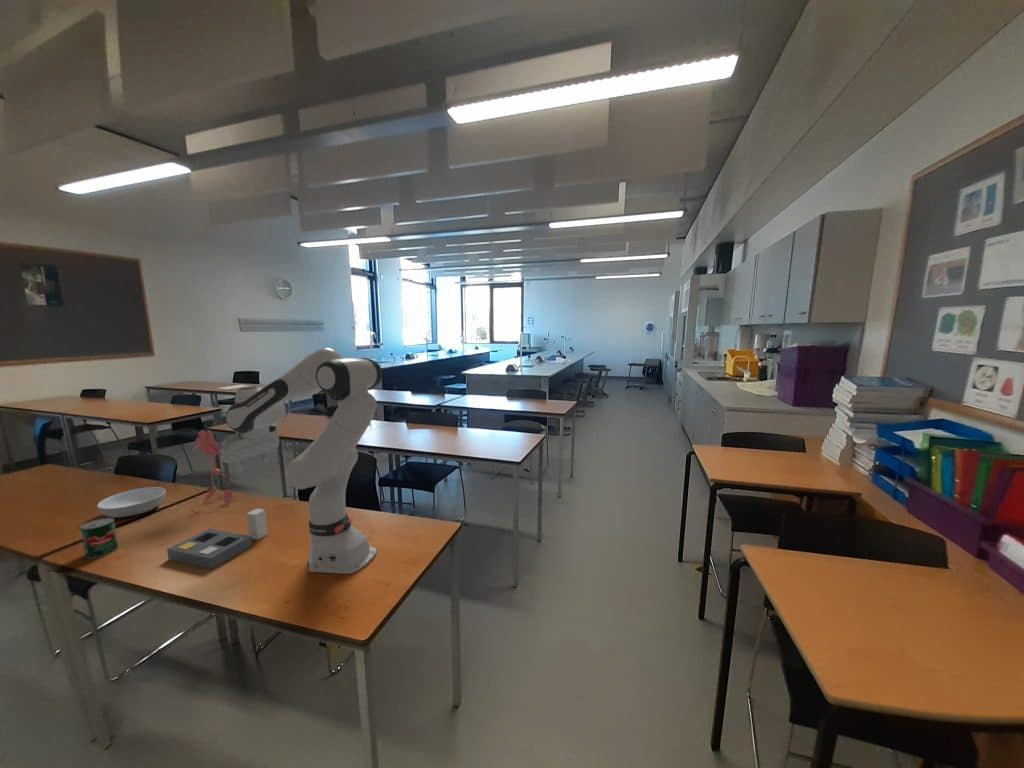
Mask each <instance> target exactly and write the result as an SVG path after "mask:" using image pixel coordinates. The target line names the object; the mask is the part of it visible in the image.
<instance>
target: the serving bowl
mask: <svg viewBox="0 0 1024 768" xmlns="http://www.w3.org/2000/svg"><path fill="white" fill-rule="evenodd" d="M166 493H167V491H166V488H164V487H159V486H151V487H150V486H149V487H142V488H135V489H131V490H126V491H123V492H119V493H116V494H114V495H110V496H108V497H106V498H104V499H102V500H100V501H99V502H98V503H97V505H96V506H97V509H98V511H99V512H100V514H102V515H103V516H106V517H107V518H125V517H132V516H133V515H134V516H137V514H138V515H140V514H144V513H147V512H149V511H151V510H153V509H155V508H157V507H158V506H160V505H161V504H162V503H163V501H164V500H165V498H166Z"/></svg>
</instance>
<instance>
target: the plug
mask: <svg viewBox="0 0 1024 768" xmlns="http://www.w3.org/2000/svg"><path fill="white" fill-rule="evenodd" d="M246 515H247V517H246V518H247V525H248V527H247V528H248V536H251V540H256V541H257V540H258V541H259V540H260V539H262V538H264V537H265V536H267V535H268V526H267V517H266V510H265V509H262V508H255V509H254V510H251V511H249V512H247V513H246Z"/></svg>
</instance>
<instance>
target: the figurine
mask: <svg viewBox="0 0 1024 768" xmlns="http://www.w3.org/2000/svg"><path fill="white" fill-rule="evenodd" d="M197 435H198V437H196V439H195V442H196V444H197V445H196V446H195V447H194V448H193V449H192V451H191V453H193V452H195V450H197V449H198V448H199V449H200V450H201V453H202V455H203V456H207V453H208V454H209V455H210V456H211V457H210V460H209V461H210V463H211V464H212V467H213V468H214V469H213V470H212V473H211V474H210V477H211V483H212V488H211V489H210V490H209V491H208V493H207V495H206V497H205V500H204V502H207V501H209V500H210V499H212V497H213V496H214V495H215V493H216V494H217V495H218V496H219V497H220V498H222V500H223V502H224V503H225V505H228V504H229V503H230V502H231V500H234V499H236V497H234V496H233V495H234V494H233V491H232V490H231V489H230V484H231V476H229V475H226V474H223V473H221V469H219V468H216V467H215V465H214V464H215V463H214V461H213V458H215V457H216V456H217V455H218V454H221V449H219V448H218V447H219V445H220V444H219V442H217V441H215V436H214V434H213V432H212V431H211V430H210V429H208V430H207V431H205V430H203V429H201V430H200V431H198V432H197ZM213 475H215V476H217V475H222V476H223V477H228V486H227V490H225V491H224V493H223V496H222V495H221V494H220V493H219V491H218V490H217V487H216V486H215V485H214V480H213ZM221 496H222V497H221Z"/></svg>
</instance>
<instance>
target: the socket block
mask: <svg viewBox="0 0 1024 768" xmlns="http://www.w3.org/2000/svg"><path fill="white" fill-rule="evenodd" d="M252 547H253V543H252V539H251V536H249V534H247V535H246V534H241V533H237V532H231V531H227V530H220V529H215V528H208V529H206V530H204V531H201V532H199V533H197V534H195V535H194V536H191V537H188V538H186V539H185V540H183V541H181V542H178V543H177V544H174V545H172V546H170V547H168V548H166V550H167V559H168V561H172V562H177V563H181V564H185V565H190V566H194V567H198V568H199V567H200V568H203V569H208V570H210V571H211V570H212V571H213V570H214V569H216V568H218V567H219V566H221V565H223V564H225V563H226V562H228V561H229V560H232V558H235V557H236V556H238V555H240V554H242V553H244V552H245V551H247V550H248V549H250V548H252Z"/></svg>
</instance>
